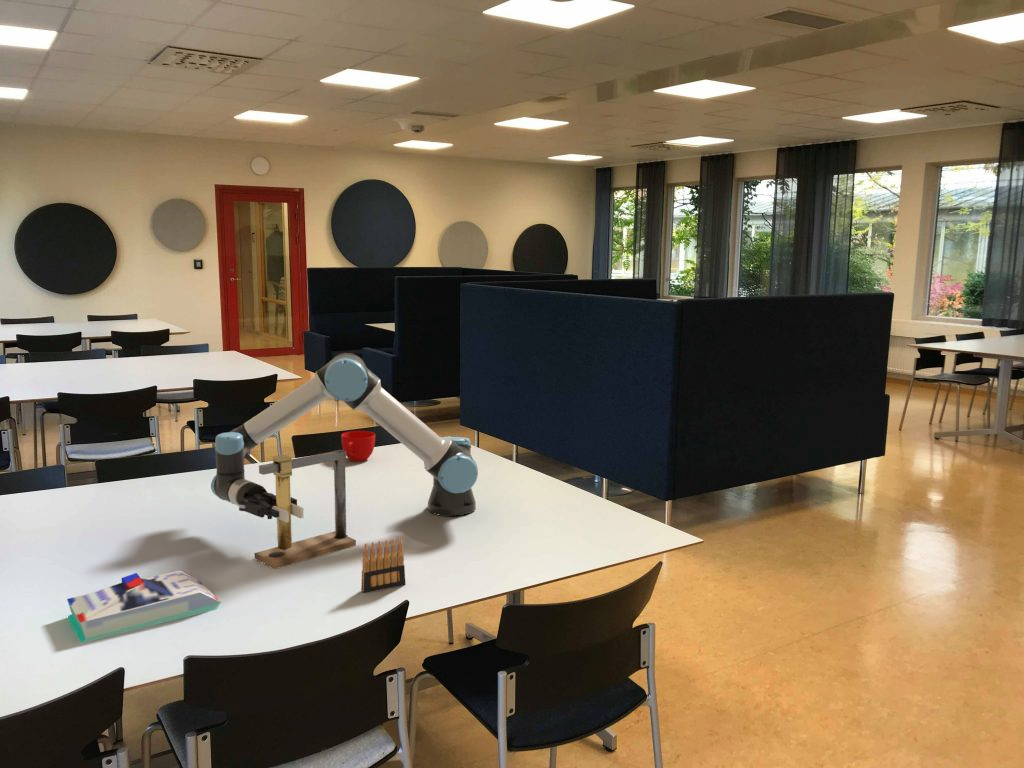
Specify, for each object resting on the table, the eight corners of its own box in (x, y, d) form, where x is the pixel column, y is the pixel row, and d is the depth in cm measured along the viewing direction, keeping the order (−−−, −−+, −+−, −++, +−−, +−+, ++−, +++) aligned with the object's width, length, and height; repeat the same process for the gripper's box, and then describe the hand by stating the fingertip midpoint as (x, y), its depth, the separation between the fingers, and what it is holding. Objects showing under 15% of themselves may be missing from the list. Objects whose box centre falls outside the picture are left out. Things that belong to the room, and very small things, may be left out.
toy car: (60, 618, 180) (57, 581, 179) (199, 586, 199) (197, 551, 197) (75, 648, 167) (72, 608, 166) (223, 610, 186) (221, 574, 184)
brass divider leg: (286, 546, 218) (284, 454, 214) (295, 550, 216) (292, 457, 211) (274, 549, 216) (271, 456, 212) (282, 554, 213) (280, 459, 209)
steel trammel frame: (342, 534, 230) (340, 449, 226) (348, 536, 228) (347, 451, 224) (261, 556, 213) (257, 465, 209) (266, 559, 211) (263, 467, 207)
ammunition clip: (363, 593, 195) (363, 545, 193) (361, 590, 196) (360, 542, 194) (405, 584, 200) (405, 538, 198) (402, 582, 202) (402, 535, 200)
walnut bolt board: (336, 535, 233) (336, 530, 233) (357, 544, 226) (357, 539, 226) (254, 558, 215) (254, 552, 215) (274, 569, 208) (273, 563, 208)
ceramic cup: (332, 465, 308) (332, 439, 307) (348, 454, 325) (348, 430, 323) (365, 467, 306) (365, 441, 304) (380, 456, 323) (379, 431, 321)
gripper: (275, 502, 233) (322, 521, 217) (220, 515, 221) (266, 536, 205) (275, 476, 232) (322, 494, 216) (219, 488, 220) (265, 508, 204)
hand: (294, 515), depth 210 cm, fingers closed on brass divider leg, 4 cm apart
